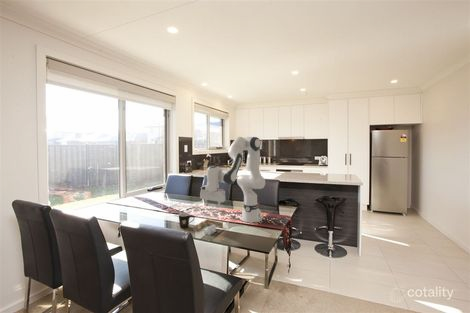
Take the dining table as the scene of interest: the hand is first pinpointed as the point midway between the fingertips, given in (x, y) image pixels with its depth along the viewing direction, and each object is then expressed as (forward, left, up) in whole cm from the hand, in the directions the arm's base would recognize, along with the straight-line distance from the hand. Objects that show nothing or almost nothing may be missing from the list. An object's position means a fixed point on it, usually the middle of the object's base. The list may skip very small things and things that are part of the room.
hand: (212, 206), depth 173 cm
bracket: (0, -2, -21) cm, 21 cm away
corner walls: (-5, -7, -20) cm, 22 cm away
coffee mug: (0, -25, -21) cm, 33 cm away
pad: (-5, -8, -20) cm, 23 cm away
